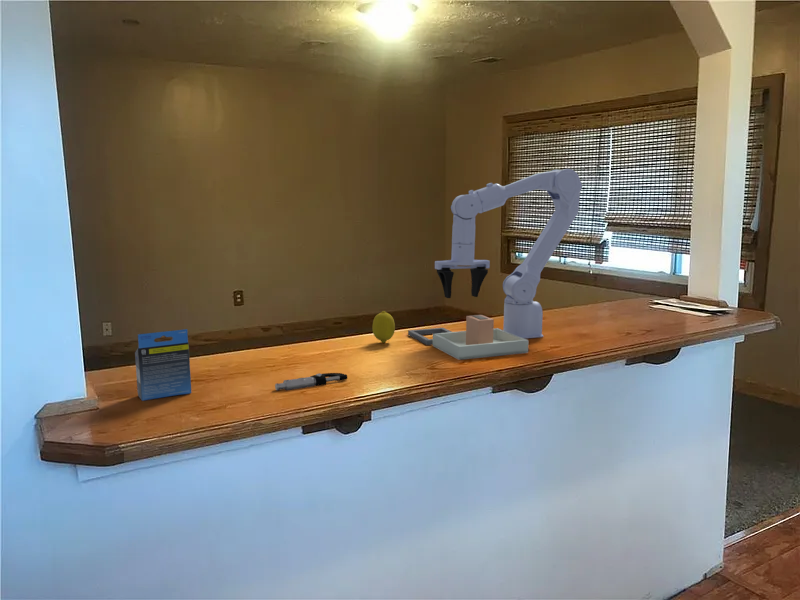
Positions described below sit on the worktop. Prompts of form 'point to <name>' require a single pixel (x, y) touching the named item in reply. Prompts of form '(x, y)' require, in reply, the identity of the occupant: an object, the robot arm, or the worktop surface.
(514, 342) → the parts tray
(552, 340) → the worktop surface
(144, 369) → the label tape cartridge
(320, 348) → the worktop surface
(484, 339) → the block
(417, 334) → the frame
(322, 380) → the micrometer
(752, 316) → the worktop surface
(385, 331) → the lemon
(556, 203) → the robot arm
